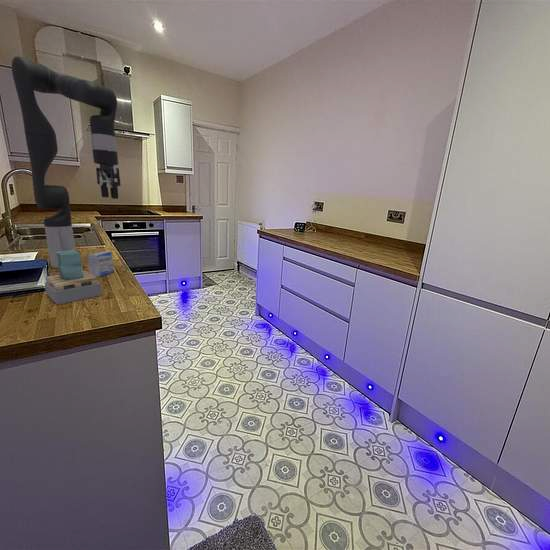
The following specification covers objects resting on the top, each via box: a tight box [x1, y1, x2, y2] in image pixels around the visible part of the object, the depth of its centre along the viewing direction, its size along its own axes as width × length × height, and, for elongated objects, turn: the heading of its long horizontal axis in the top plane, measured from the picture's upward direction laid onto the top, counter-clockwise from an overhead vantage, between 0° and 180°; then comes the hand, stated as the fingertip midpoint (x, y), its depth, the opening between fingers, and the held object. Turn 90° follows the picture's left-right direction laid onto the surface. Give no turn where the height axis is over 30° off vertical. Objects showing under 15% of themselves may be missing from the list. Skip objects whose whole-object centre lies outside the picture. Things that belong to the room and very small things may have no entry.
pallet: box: [45, 270, 98, 291], centre depth 91 cm, size 11×11×2 cm
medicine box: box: [87, 250, 115, 278], centre depth 114 cm, size 8×4×9 cm, turn 168°
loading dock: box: [44, 281, 103, 306], centre depth 92 cm, size 12×12×4 cm
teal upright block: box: [56, 250, 83, 280], centre depth 90 cm, size 5×5×8 cm
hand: (110, 197), depth 104 cm, fingers open, 8 cm apart
